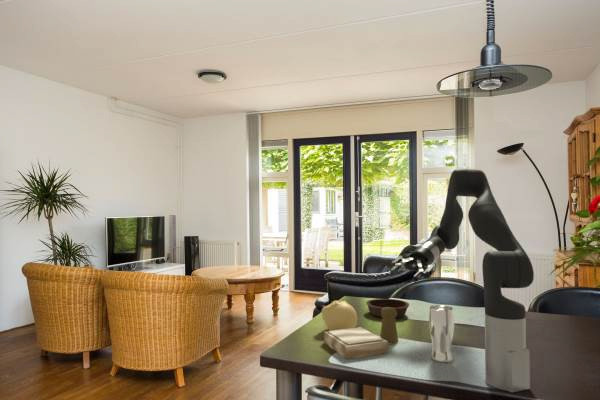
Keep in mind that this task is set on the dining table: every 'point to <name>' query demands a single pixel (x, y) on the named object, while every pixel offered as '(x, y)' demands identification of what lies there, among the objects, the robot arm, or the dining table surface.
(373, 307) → the dish
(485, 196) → the robot arm
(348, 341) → the wooden stand
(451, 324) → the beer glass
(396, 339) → the brown tall waisted piece
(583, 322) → the dining table surface
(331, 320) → the sculpture
